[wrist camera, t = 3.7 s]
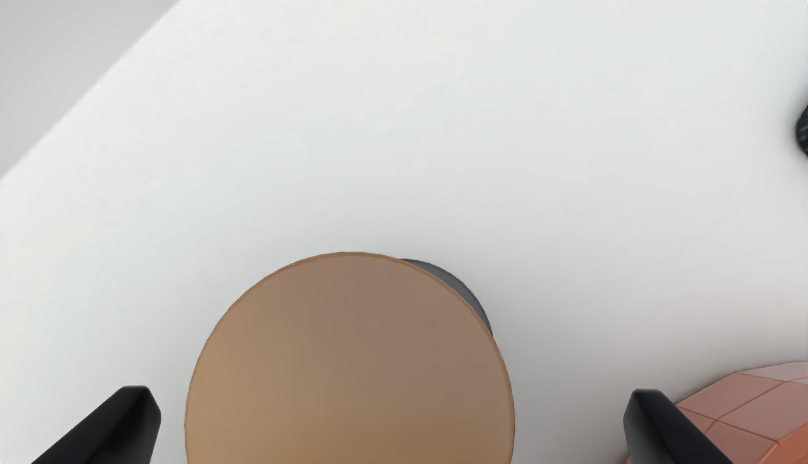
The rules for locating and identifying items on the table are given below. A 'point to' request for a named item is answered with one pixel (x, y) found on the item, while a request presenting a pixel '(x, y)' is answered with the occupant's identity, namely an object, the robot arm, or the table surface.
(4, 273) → the table surface
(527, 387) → the table surface
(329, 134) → the table surface
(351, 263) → the wooden peg on base
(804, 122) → the phone
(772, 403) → the bowl
